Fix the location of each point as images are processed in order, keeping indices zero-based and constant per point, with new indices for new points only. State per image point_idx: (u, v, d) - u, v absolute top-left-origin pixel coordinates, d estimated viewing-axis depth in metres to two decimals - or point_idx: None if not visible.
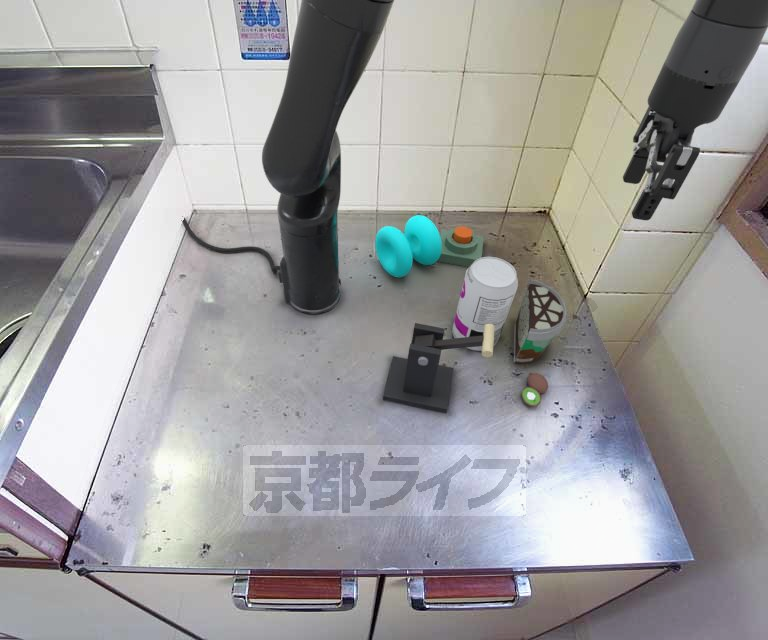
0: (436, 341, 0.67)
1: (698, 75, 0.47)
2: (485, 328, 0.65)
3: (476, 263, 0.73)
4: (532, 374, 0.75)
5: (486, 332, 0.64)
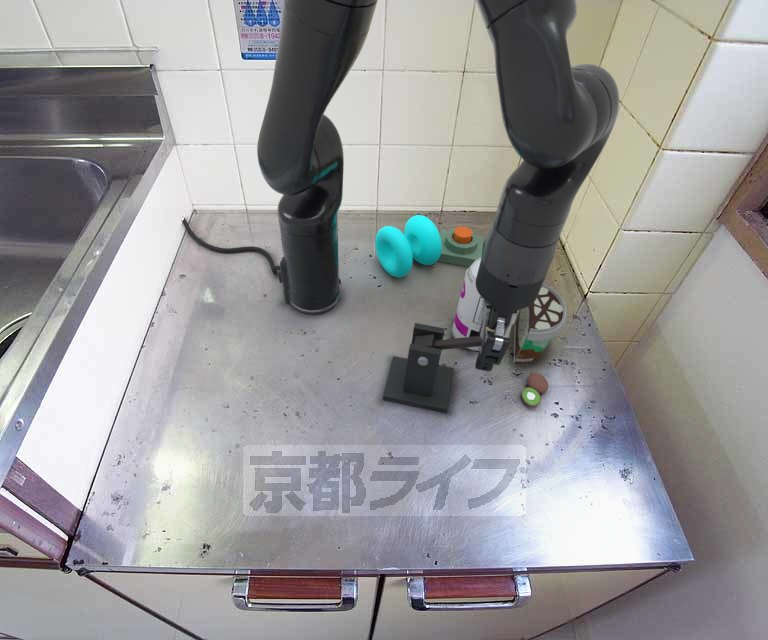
0: (436, 341, 0.67)
1: (502, 276, 0.51)
2: None
3: (476, 263, 0.73)
4: (532, 374, 0.75)
5: None
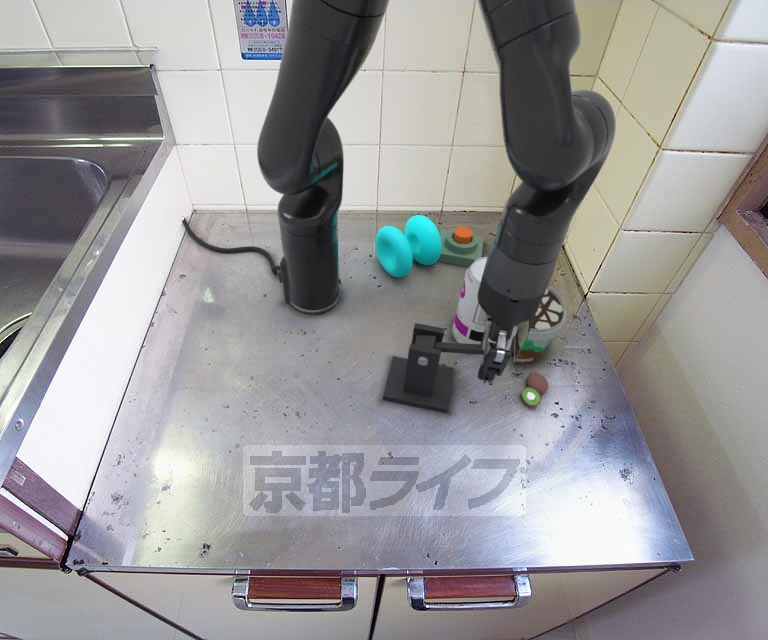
0: (437, 343, 0.67)
1: (503, 291, 0.53)
2: None
3: (476, 263, 0.73)
4: (532, 374, 0.75)
5: None
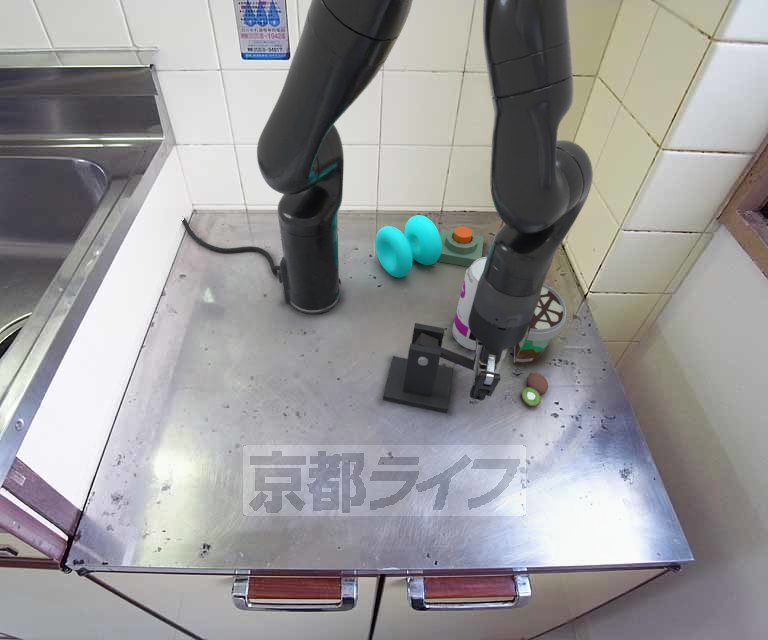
0: (438, 347, 0.68)
1: (491, 320, 0.56)
2: None
3: (476, 263, 0.73)
4: (532, 374, 0.75)
5: None
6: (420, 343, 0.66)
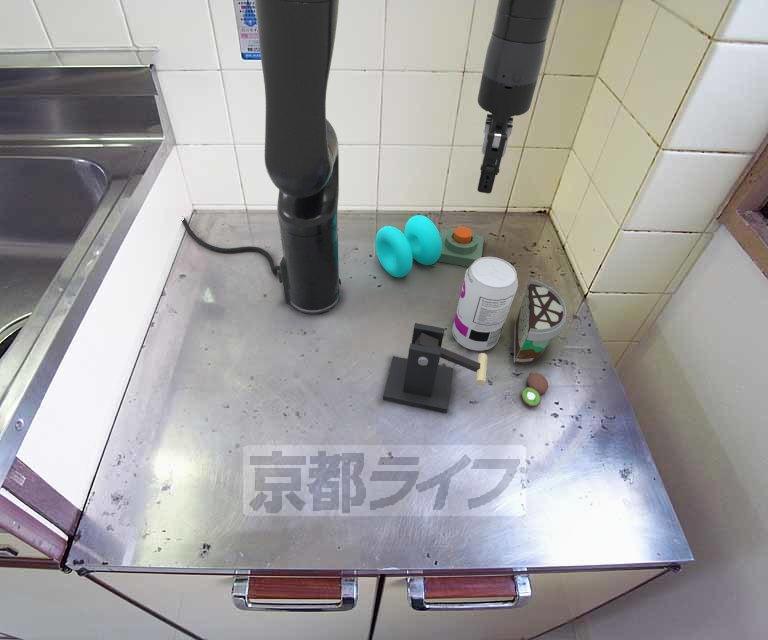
0: (438, 347, 0.68)
1: (499, 78, 0.62)
2: (482, 357, 0.69)
3: (476, 263, 0.73)
4: (532, 374, 0.75)
5: (483, 362, 0.69)
6: (420, 343, 0.66)
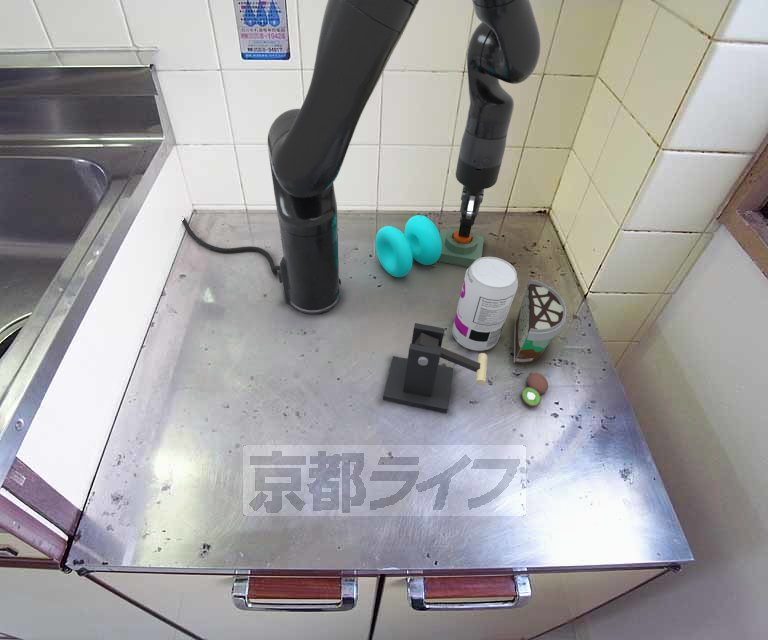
0: (438, 347, 0.68)
1: (471, 163, 0.80)
2: (482, 357, 0.69)
3: (476, 263, 0.73)
4: (532, 374, 0.75)
5: (483, 362, 0.69)
6: (420, 343, 0.66)
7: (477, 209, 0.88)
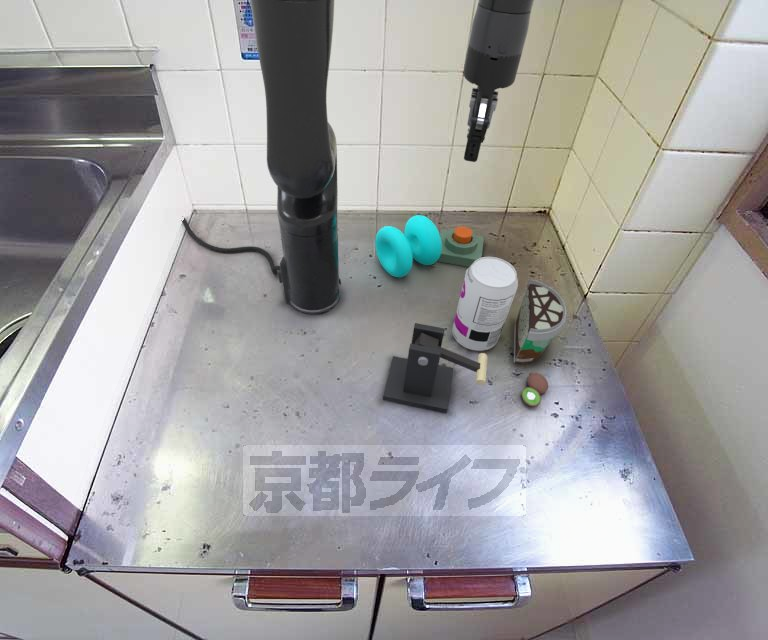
0: (438, 347, 0.68)
1: (485, 49, 0.63)
2: (482, 357, 0.69)
3: (476, 263, 0.73)
4: (532, 374, 0.75)
5: (483, 362, 0.69)
6: (420, 343, 0.66)
7: (489, 120, 0.71)
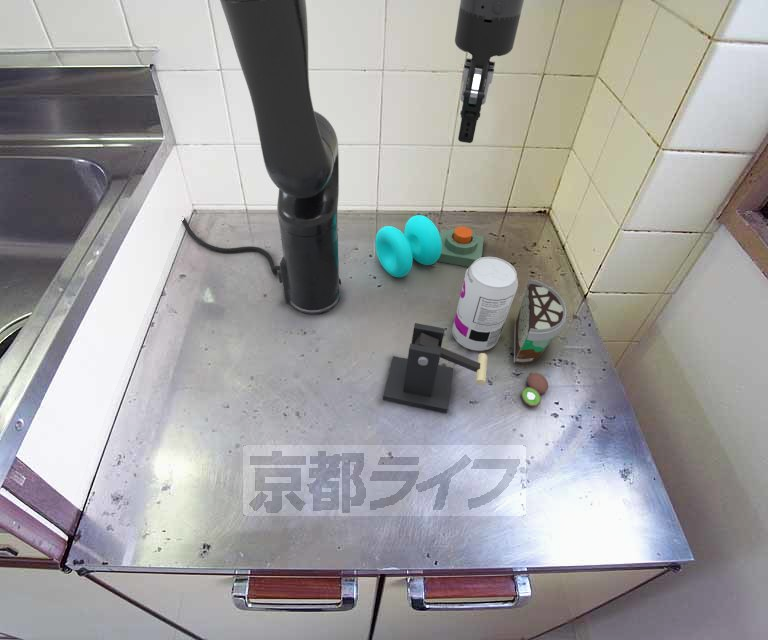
0: (438, 347, 0.68)
1: (477, 10, 0.55)
2: (482, 357, 0.69)
3: (476, 263, 0.73)
4: (532, 374, 0.75)
5: (483, 362, 0.69)
6: (420, 343, 0.66)
7: (484, 94, 0.64)
